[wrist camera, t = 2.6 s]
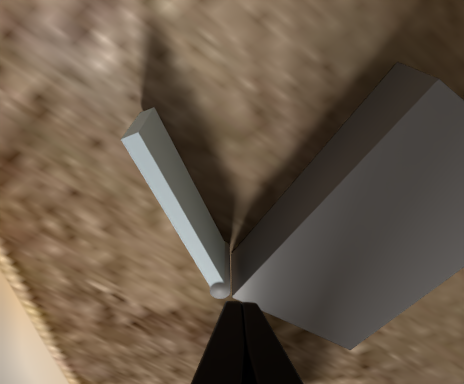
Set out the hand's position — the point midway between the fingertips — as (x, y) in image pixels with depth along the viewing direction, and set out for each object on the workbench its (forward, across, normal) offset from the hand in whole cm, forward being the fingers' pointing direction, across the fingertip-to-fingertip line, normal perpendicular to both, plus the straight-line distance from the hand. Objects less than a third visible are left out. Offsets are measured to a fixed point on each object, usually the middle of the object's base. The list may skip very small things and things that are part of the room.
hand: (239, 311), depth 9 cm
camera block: (+10, -8, +3) cm, 13 cm away
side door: (+10, +2, +2) cm, 11 cm away
